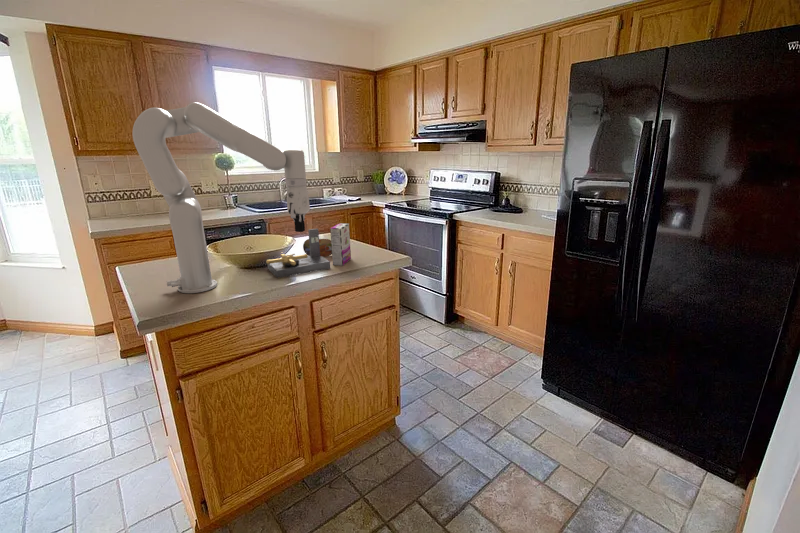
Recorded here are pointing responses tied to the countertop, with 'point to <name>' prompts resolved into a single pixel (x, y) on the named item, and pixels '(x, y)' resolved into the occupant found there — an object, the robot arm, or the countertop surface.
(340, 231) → the candy bar box
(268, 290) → the countertop surface
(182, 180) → the robot arm
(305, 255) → the capstan
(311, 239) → the stand
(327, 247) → the tin
